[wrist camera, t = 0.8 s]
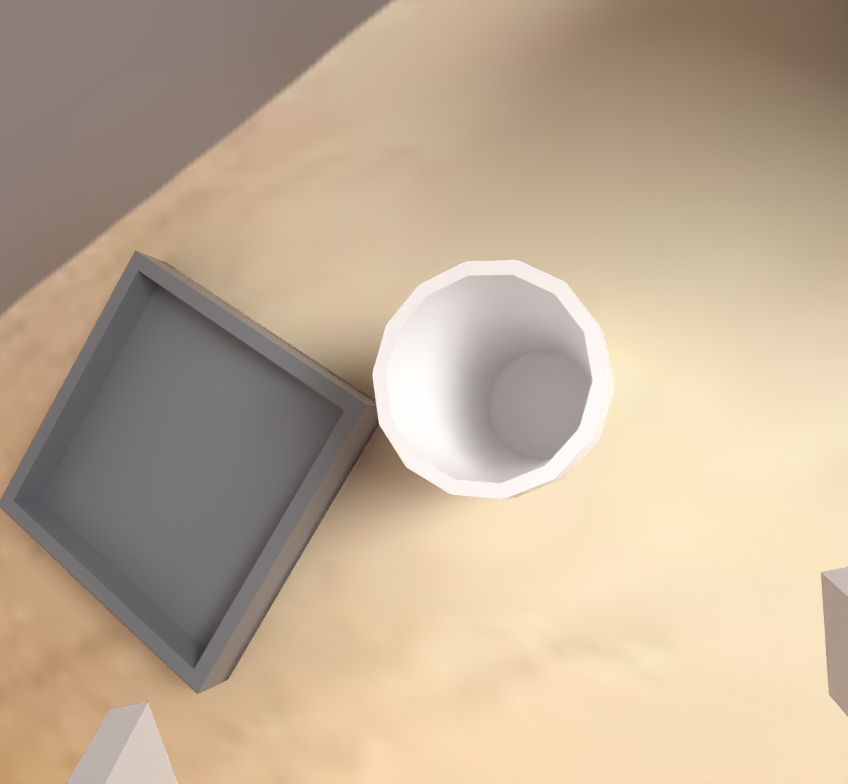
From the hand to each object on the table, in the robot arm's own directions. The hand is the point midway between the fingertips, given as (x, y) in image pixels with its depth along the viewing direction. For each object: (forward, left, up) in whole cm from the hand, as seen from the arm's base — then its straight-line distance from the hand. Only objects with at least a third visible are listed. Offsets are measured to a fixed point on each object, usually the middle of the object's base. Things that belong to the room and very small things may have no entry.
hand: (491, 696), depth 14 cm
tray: (+10, -25, -26) cm, 37 cm away
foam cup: (-5, -7, -26) cm, 27 cm away
